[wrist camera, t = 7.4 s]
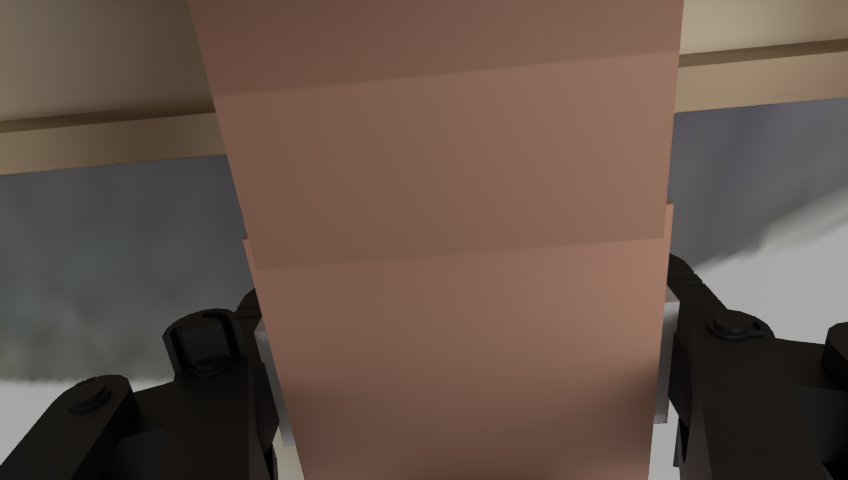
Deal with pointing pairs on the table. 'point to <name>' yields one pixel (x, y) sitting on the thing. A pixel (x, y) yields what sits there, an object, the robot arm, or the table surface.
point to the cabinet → (455, 226)
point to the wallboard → (194, 108)
